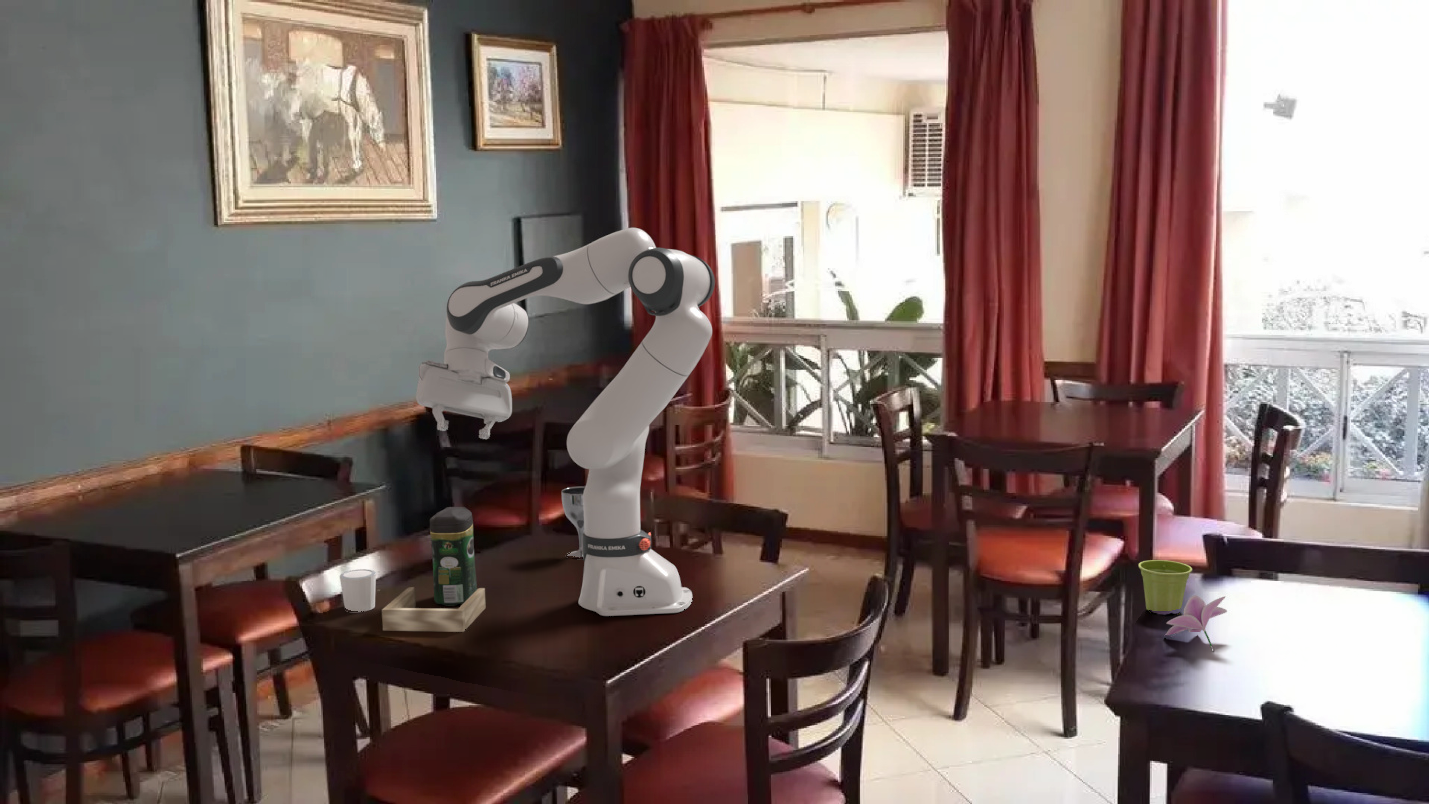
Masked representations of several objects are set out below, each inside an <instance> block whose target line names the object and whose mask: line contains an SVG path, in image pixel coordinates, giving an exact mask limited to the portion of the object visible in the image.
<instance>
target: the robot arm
mask: <svg viewBox="0 0 1429 804" xmlns="http://www.w3.org/2000/svg"><path fill="white" fill-rule="evenodd" d="M715 286H716V279H715V274H714V273H713V270H712V268H711V266H709V264H708V263H707V262H706V261H704V260H703V259H702V258H700V257H698V256H696V255H693V254H690V253H689V254H688V253H686V252H684V251H683V250H678V249H671V248H664V247H657V246H656V244H655V242H654V240H653V239H652V237H651V236H650V235H649V234H648V233H647V232H646V231H645V230H643V229H641V228H637V227H629V228H625V229H621V230H617V231H615V232H612V233H610V234H608V235H605V236H602V237H600V238H598V239H596V240H594V241H591V243H588V244H586V245H584V246H582V247H579V248H576V249H574V250H572V251H569V252H565V253H562V254H557V255H552V256H547V257H542V258H538V259H535V260H532V261H530V262H527V263H524V264H522V265H520V266H517V267H514V268H512V269H510V270H507V271H504V272H502V273H499V274H497V275H494V276H492V277H490V278H487V279H483V280H473V281H467V282H465V283H463V284H461V285H459V286H457V287H456V288H455V289H454V290H453V291H452V293H451V294H450V296H449V297H448V301H447V303H446V317H445V329H444V331H445V332H444V333H445V334H444V335H445V340H446V348H445V349H444V356H443V358H444V359H443V363H442V362H435V361H433V360H430V359H429V360H426V361H423V362H421V363H420V365H419V366H418V382H417V388H416V393H415V400H416V402H417V404H418V405H420V406H422V407H426V408H431V409H432V412H431V413H432V415H433V418H435V421H436V422H437V425H436V429H437V431H442V432H445V431H447V430H449V429H448V428H449V420H446V419H445V417H444V414H443V412H444V411H446V412H450V413H456V414H458V415H459V414H460V415H463V416H464V415H465V416H470V417H474V418H479V419H483V424H485V426H484V427H483V428H481V429H479V431H478V434H479V435H478V438H480V439H482V440H488V439H490V437H491V436H490V435H491V429H492V427H493V426H494V424H495V423H496V422H497V423H502V422H504V421H506V420H508V419H509V418H510V417H511V416H512V414H513V398H512V397H513V396H512V390H511V387H510V385H509V384H508V382H509V381H510V377H511V375H510V372H509V371H507V370H506V369H504V368H503V367H501V366H499V365H498V364H497V363H495V362H493V361H492V360H491V359H489V352H490V351H491V350H495V351H503V350H505V351H506V350H511V349H514V348H516V347H518V346H519V345H520V344H521V343H523V342H524V340H525V339H526V337H527V335H528V333H529V328H530V320H529V319H530V318H529V315H528V313H527V311H526V310H525V309H524V308H523V307H522V306H520V305H519V304H516V303H518V302H520V301H523V300H525V299H528V298H531V297H538V296H540V297H541V296H545V297H553V298H558V299H562V300H566V301H570V302H573V303H577V304H582V305H592V304H596V303H600V302H603V301H607V300H608V299H610V298H612V297H614V296H616V295H618V294H620V293H621V292H623V291H625V290H627V289H629V288H631V290H632V293H634V295H635V296H636V297H637V298H638V300H639V301H640V302H641V304H642V306H643V307H644V309H645V310H646V312H647V314H648V315H651V316H655V320H654V323H653V325H652V327H651V329H650V330H649V331H648V332H647V334H646V335H645V337H644V338H643V339H642V341H641V342H640V344H639V345H638V346H637V348H636V349H635V351H634V352H633V353H632V355H631V356H630V357H629V359H628V360H627V362H626V363H625V364H624V366H623V367H622V368H621V370H620V371H619V372H618V374H616V376H615V377H614V378H613V379H612V380H611V382H609V384H608V385H607V386H606V387H605V388H604V389H603V390H602V391H601V392H600V394H598V396H597V397H595V399H594V400H593V401H592V403H590V405H589V407H588V408H587V409H586V410H585V411H584V412H583V414H582V415H581V416H580V417H579V419H578V420H577V421H576V422H575V423H574V425H573V426H572V427H571V429H570V430H569V432H568V433H567V437H566V448H567V452H568V455H569V457H570V458H571V459H572V461H573V462H574V463H576V464H577V466H578V467H581V468H583V469H587V470H588V475H587V479H586V485H585V486H586V487H585V489H584V493H583V507H584V533H583V534H582V556H583V559H582V560H583V562H584V564H583V565H584V566H583V575H582V576H583V577H582V584H581V585H582V586H581V589H580V594H579V595H580V596H579V598H578V605H579V606H581V607H582V608H584V609H585V610H589V611H593V612H596V613H597V615H598V614H599V615H600V616H603V617H609V616H610V617H611V616H612V617H614V616H634V615H636V616H637V615H655V614H657V615H658V614H659V615H660V614H677V613H680V612H683V611H685V610H686V609H688V608H689V607H690V605H691V604H692V603H691V602H693V600H692V598H693V592H692V590H691V589H689V588H688V587H685V586H684V587H683V586H682V583H681V577H680V575H679V572H678V569H677V567H676V566H675V565H674V564H673V563H671V562H670V561H669V560H667V559H666V558H664V557H663V556H661V555H660V554H659V553H657V552H656V551H655V550H653V549H652V534H651V533H652V532H651V531H650V532H648V533H647V532H645V531H644V530H642V529H641V483H642V477H643V476H642V475H643V469H644V460H645V451H646V450H645V449H646V443H647V439H648V436H649V433H650V425H651V423H652V422H654V420H655V419H656V418H657V417H658V416H659V414H660V413H661V412H662V411H663V410H664V409H665V408H666V407H667V405H668V404H669V403H670V402H671V400H672V399H673V398H674V396H675V395H676V393H677V392H678V391H679V389H680V388H681V387H682V386H683V384H684V383H685V381H686V380H687V379H688V378H689V376H690V375H691V373H692V371H693V370H694V369H695V368H696V366H697V364H698V363H699V361H700V360H701V358H702V357H703V355H704V353H705V350H707V349H706V348H707V347H708V346H709V343H710V340H711V338H712V335H713V327H712V323H711V322H710V320H709V318H708V316H707V315H706V314H705V313H704V312H702V310H700V308H701V306H703V305H705V304H706V303H707V302H708V301H709V300H710V298H711V297H712V295H713V292H714V290H715ZM693 599H694V598H693ZM684 609H685V610H684Z"/></svg>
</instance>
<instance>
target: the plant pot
mask: <svg viewBox="0 0 1429 804" xmlns="http://www.w3.org/2000/svg"><path fill="white" fill-rule="evenodd" d="M1138 568H1139V569H1140V573H1141V576H1142V580H1143V581H1142V582H1143V590H1144V591H1143V592H1144V599H1145V600H1144V601H1145V607H1146V609H1145V610H1147V611H1149V610H1152V611H1172V610H1176V609H1180V608H1181V607H1183V601H1184V596H1185V592H1186V587H1187V583H1188V579H1189V577H1190V574H1191V572H1193V568H1192V567H1191V566H1190V565H1188V564H1185V563H1183V562H1178V561H1173V560H1167V559H1166V560H1165V559H1164V560H1162V559H1152V560H1151V559H1150V560H1143V561H1141V562H1139V563H1138ZM1181 609H1182V608H1181Z"/></svg>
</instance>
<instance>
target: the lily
mask: <svg viewBox="0 0 1429 804" xmlns="http://www.w3.org/2000/svg"><path fill="white" fill-rule="evenodd" d="M1225 598H1226V596H1222V597H1219V598H1217V599H1214V600H1213V601H1211V602H1209V603H1207V604H1206V602H1205V601H1204V600H1203V598H1201V597H1199V596H1198V595H1197V594H1196V595H1192V596H1191V597H1190V598H1189V599H1188V601H1186V604H1185V605H1184V608H1183V614H1182V615H1179V616H1176V617H1174V618H1172V619H1170V620H1168V621H1167V622H1166V625H1171V626H1172V627H1170V628H1169V629H1167V631H1166V633H1165V635H1171V634H1175V633H1177V634H1179V633H1182V632H1183V631H1187V630H1188V633H1190V632H1200V633H1201V632H1202V631H1203V633H1204V634H1205V637H1206V639H1207V641H1208V643H1209V646H1212V647H1213V645H1212V642H1211V640H1210V637H1209V635H1208V633H1207V631H1206V628H1207V625H1208V622H1209V620H1210V619H1212V618H1216V617H1217V616H1220V615H1224V614H1226V613H1227V612H1228V610H1227V609H1225V608H1223V607H1219V605H1220V604H1221V603H1222V601H1223V600H1225ZM1165 635H1164V636H1165ZM1175 635H1176V634H1175Z"/></svg>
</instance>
